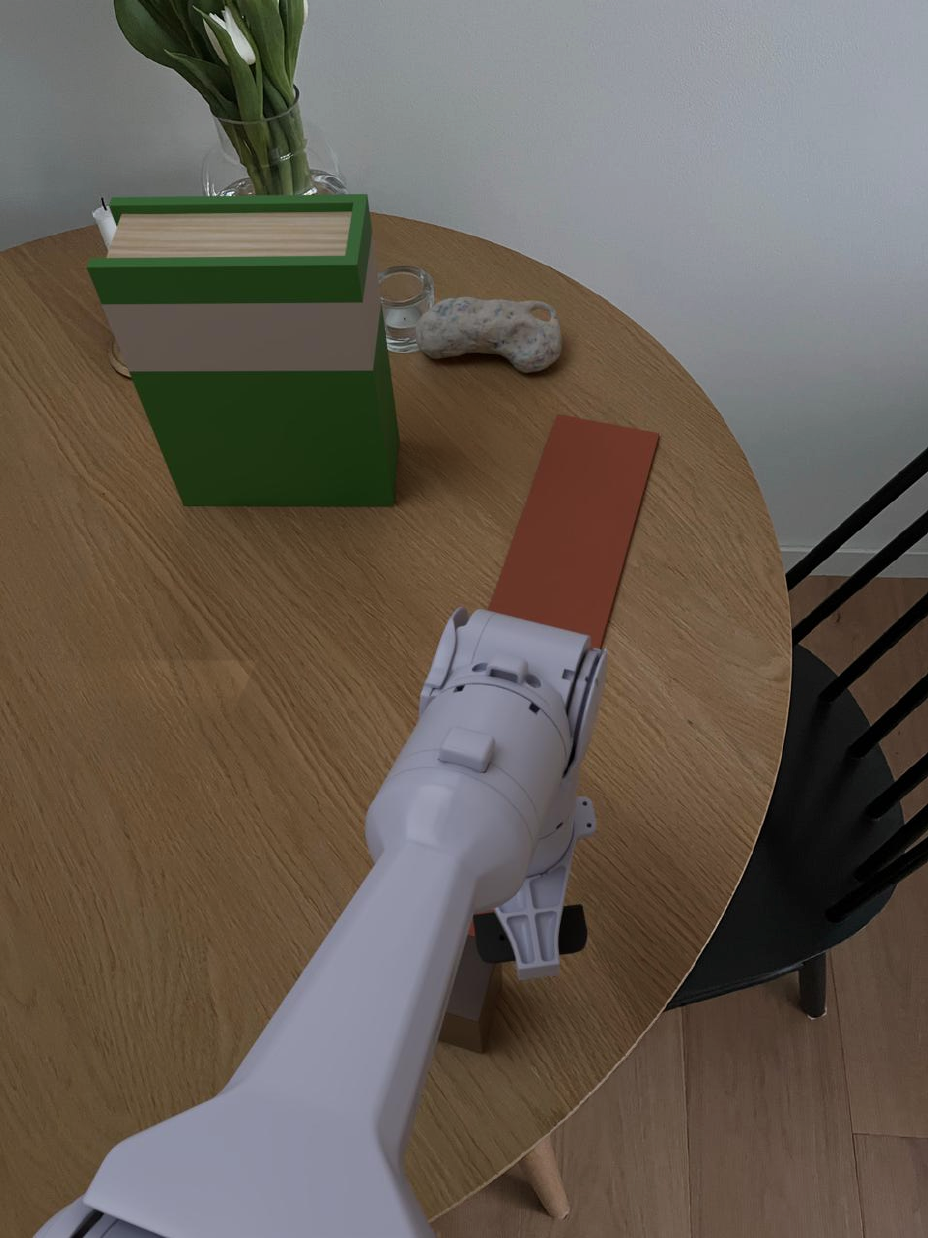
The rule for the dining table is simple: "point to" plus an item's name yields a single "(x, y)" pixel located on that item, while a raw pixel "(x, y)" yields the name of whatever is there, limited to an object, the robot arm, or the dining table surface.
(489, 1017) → the walnut block
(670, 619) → the dining table surface
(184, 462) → the hardback book
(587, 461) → the terracotta mat
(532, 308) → the decorative stone
